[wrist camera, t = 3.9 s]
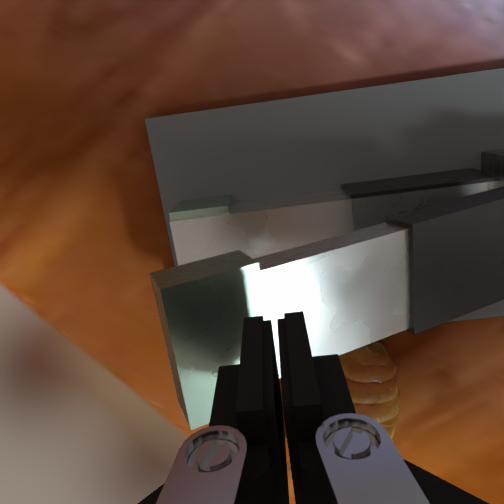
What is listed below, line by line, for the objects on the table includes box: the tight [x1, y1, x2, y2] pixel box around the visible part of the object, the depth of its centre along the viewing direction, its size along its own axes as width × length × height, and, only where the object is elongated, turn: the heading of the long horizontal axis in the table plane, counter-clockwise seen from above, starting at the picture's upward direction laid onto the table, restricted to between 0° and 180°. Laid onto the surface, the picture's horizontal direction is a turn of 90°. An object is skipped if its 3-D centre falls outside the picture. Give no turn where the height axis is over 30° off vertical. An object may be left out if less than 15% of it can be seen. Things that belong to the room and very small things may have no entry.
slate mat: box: [145, 68, 504, 322], centre depth 25 cm, size 23×14×1 cm, turn 98°
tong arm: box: [150, 186, 504, 430], centre depth 16 cm, size 16×5×2 cm, turn 97°
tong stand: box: [169, 149, 504, 266], centre depth 22 cm, size 22×6×5 cm, turn 98°
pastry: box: [287, 342, 400, 443], centre depth 28 cm, size 9×7×4 cm
